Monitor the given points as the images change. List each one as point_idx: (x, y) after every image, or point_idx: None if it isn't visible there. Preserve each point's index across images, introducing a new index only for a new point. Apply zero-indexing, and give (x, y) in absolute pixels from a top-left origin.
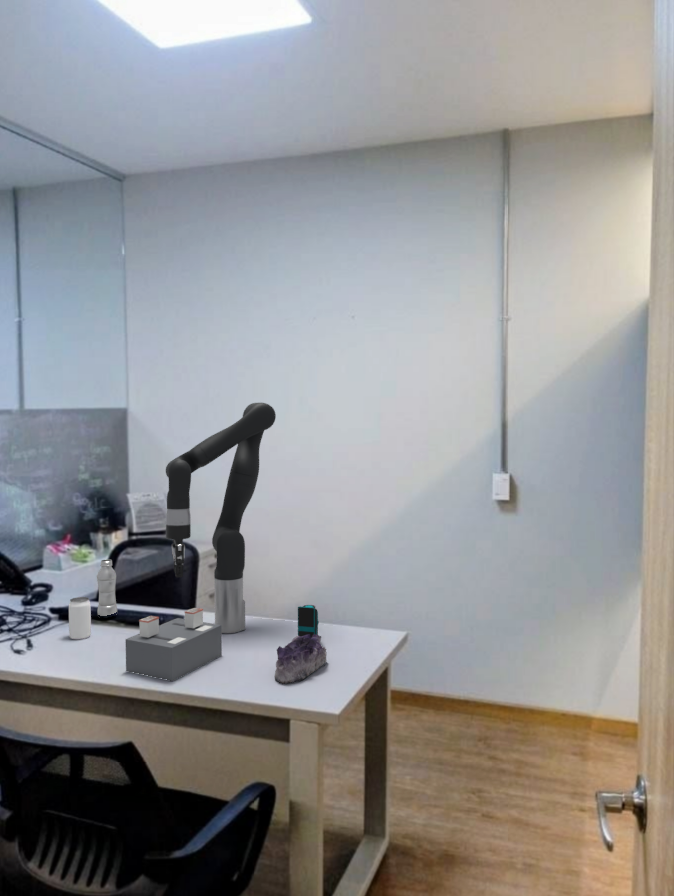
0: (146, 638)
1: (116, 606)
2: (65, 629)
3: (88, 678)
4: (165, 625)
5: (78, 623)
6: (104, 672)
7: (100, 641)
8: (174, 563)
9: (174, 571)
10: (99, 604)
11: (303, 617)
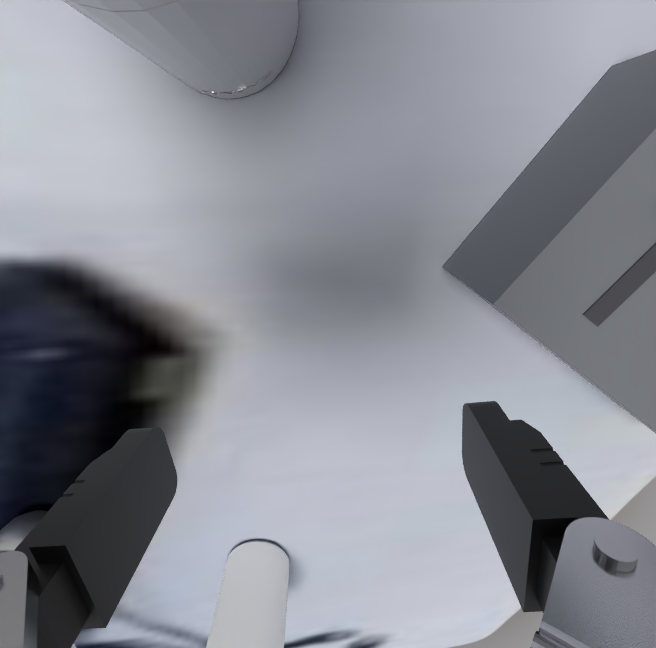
0: None
1: (16, 537)
2: (182, 601)
3: (630, 489)
4: (606, 355)
5: (285, 611)
6: (602, 460)
7: (313, 508)
8: (123, 586)
9: (173, 493)
10: None
11: None
